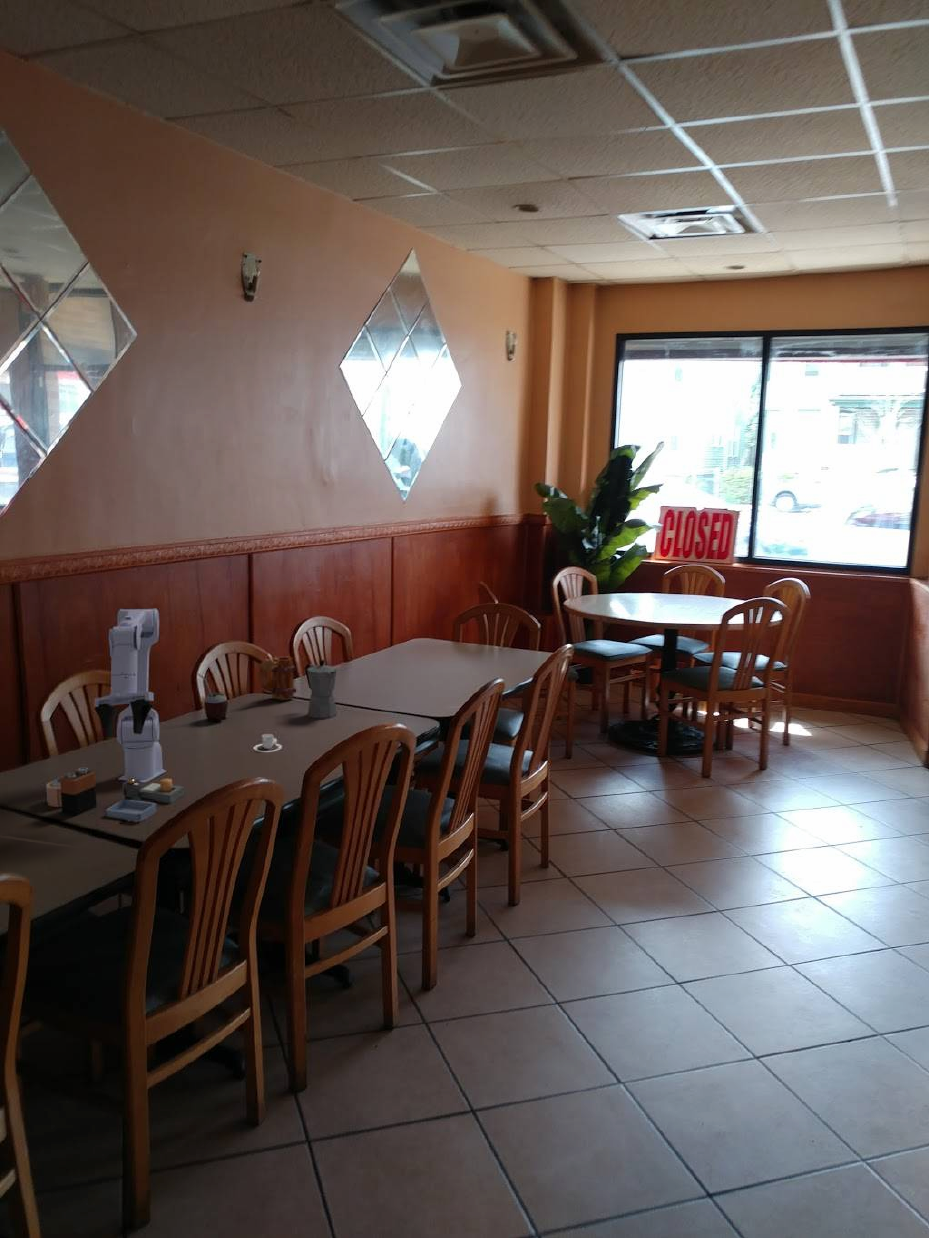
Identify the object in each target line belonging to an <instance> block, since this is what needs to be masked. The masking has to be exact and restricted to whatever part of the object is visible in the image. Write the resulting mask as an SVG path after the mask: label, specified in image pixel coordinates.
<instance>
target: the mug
mask: <svg viewBox="0 0 929 1238" xmlns="http://www.w3.org/2000/svg"><path fill="white" fill-rule="evenodd" d="M296 670H297V668H296V667H295V665H294V664H293V657H291V656H288V655H285V656H283V655H282V656H274V658H273V660H272V659H269V658H265V659H264V660H262V662H261V664H260V666H259V671H258V679H259V683H260V686H261V687H262V688H263V690H264V691H266V692H269V693H271V697H272V699H274V700H278V701H289V700H292V699H293V697H294V694H295V693H296V692H297V688H296V686H294V672H296ZM270 673H272V680H270V675H269V674H270Z"/></svg>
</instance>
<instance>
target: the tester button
mask: <svg viewBox="0 0 929 1238" xmlns="http://www.w3.org/2000/svg"><path fill="white" fill-rule="evenodd" d="M159 784H160V792H167V793H169V792H171V791H172V785H173V780H172V778H162V779H160V780H159Z"/></svg>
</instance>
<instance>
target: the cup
mask: <svg viewBox="0 0 929 1238" xmlns="http://www.w3.org/2000/svg"><path fill="white" fill-rule="evenodd" d="M52 781H53V780H52ZM52 781H50V782H47V783H46V796H47V799H46V801H47V805H48V806H49V807H55V808H62V801H61V788H55V787H53V786H52Z"/></svg>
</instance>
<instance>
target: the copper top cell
mask: <svg viewBox="0 0 929 1238" xmlns="http://www.w3.org/2000/svg"><path fill="white" fill-rule="evenodd" d="M121 786H122V787H121V788H122V800H123V799H127V800H134V801H142V798H141V791H140V789H141V782H140V781H138V780H135V779H128V780H124V781H123V782H122V785H121Z"/></svg>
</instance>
